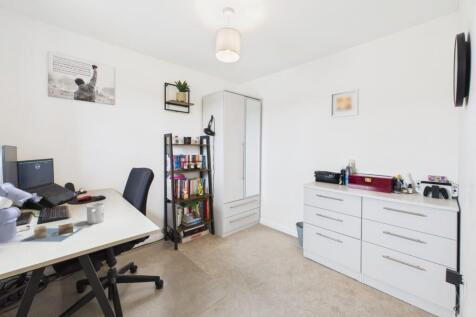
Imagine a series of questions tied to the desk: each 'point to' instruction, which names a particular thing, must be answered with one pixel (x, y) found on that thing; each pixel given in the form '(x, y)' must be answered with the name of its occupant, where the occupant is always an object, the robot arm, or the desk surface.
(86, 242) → the desk surface
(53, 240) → the mat
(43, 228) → the maple block
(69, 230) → the walnut base
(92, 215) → the mug
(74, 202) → the desk surface
